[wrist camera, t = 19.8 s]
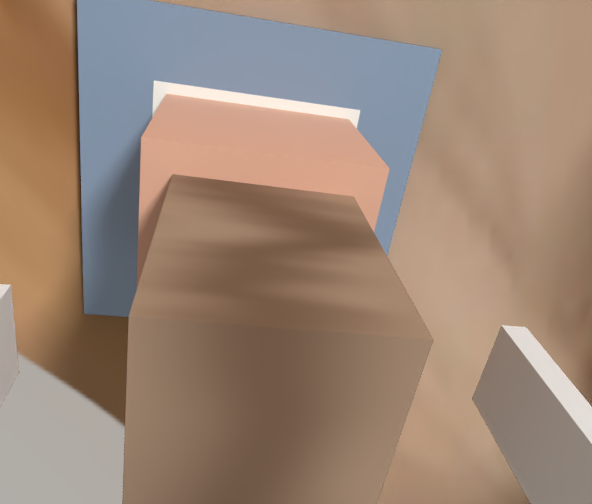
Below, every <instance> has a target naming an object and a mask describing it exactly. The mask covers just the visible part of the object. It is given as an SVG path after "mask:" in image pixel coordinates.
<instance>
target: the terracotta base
mask: <svg viewBox="0 0 592 504" xmlns="http://www.w3.org/2000/svg"><path fill="white" fill-rule="evenodd" d="M389 170H390V168H389V167H388V166H387V165H386V163H385V162H384V161H383V160H382V159H381V157H380V156H379V155H378V154H377V153H376V151H375V150H374V149H373V148H372V147H371V145H370V144H369V143H368V142H367V140H366V139H365V138H364V137H363V136H362V134H361V133H360V132H359V131H358V130H357V128H356V127H355V126H354V125H353V124H352V122H351V121H350V120H349V119H345V118H338V117H331V116H323V115H316V114H309V113H302V112H295V111H288V110H281V109H273V108H266V107H259V106H252V105H245V104H238V103H231V102H223V101H216V100H209V99H202V98H195V97H188V96H181V95H173V94H166V95H165V97H164V99H163V101H162V102H161V104H160V106H159V107H158V109H157V111H156V113H155V114H154V116H153V118H152V119H151V121H150V123H149V125H148V126H147V128H146V130H145V132H144V133H143V135H142V137H141V159H140V193H139V227H138V260H137V287H138V284H139V281H140V278H141V275H142V271H143V268H144V265H145V262H146V258H147V255H148V252H149V249H150V245H151V242H152V239H153V236H154V233H155V229H156V226H157V223H158V220H159V216H160V213H161V210H162V207H163V203H164V200H165V197H166V194H167V191H168V187H169V184H170V181H171V178H172V174H176V175H184V176H192V177H200V178H208V179H216V180H224V181H233V182H241V183H249V184H257V185H265V186H273V187H281V188H289V189H297V190H306V191H314V192H322V193H330V194H338V195H346V196H354V198H355V200H356V201H357V203H358V205H359V207H360V208H361V210H362V212H363V214H364V216H365V217H366V219H367V221H368V223H369V225H370V226H371V228H372V230H373V232H374V230H375V226H376V222H377V218H378V214H379V210H380V206H381V202H382V198H383V194H384V190H385V186H386V182H387V178H388V174H389Z"/></svg>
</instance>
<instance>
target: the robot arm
mask: <svg viewBox="0 0 592 504" xmlns="http://www.w3.org/2000/svg"><path fill="white" fill-rule="evenodd" d="M18 374H19V367H18V356H17V345H16V334H15V324H14V313H13V302H12V292H11V285H4V284H0V406H1V404H2V402H3V401H4V399H5V397H6V395H7V393H8V392H9V390H10V388H11V386H12V384H13V382H14V381H15V379H16V377H17V376H18ZM472 400H473V401H474V403H475V405H476V407H477V408H478V410H479V412H480V414H481V416H482V417H483V419H484V421H485V423H486V425H487V426H488V428H489V430H490V432H491V434H492V435H493V437H494V439H495V441H496V443H497V444H498V446H499V448H500V450H501V452H502V453H503V455H504V457H505V459H506V461H507V462H508V464H509V466H510V468H511V470H512V471H513V473H514V475H515V477H516V479H517V480H518V482H519V484H520V486H521V487H522V489H523V491H524V493H525V495H526V496H527V498H528V500H529V502H530V504H592V406H591V405H590V404H589V403H588V402H587V400H586V399H585V398H584V397H583V396H582V394H581V393H580V392H579V391H578V390H577V388H576V387H575V386H574V385H573V383H572V382H571V381H570V380H569V379H568V377H567V376H566V375H565V374H564V373H563V371H562V370H561V369H560V368H559V367H558V365H557V364H556V363H555V362H554V360H553V359H552V358H551V357H550V356H549V354H548V353H547V352H546V351H545V350H544V348H543V347H542V346H541V345H540V344H539V342H538V341H537V340H536V339H535V337H534V336H533V335H532V334H531V333H530V331H529V330H528V329H527V328H526V327H516V326H503V325H502V326H501V328H500V331H499V333H498V336H497V338H496V341H495V343H494V346H493V348H492V351H491V353H490V356H489V358H488V360H487V363H486V365H485V368H484V370H483V373H482V375H481V378H480V380H479V383H478V385H477V388H476V390H475V393H474V395H473V398H472Z"/></svg>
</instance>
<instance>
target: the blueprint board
mask: <svg viewBox="0 0 592 504" xmlns="http://www.w3.org/2000/svg"><path fill="white" fill-rule="evenodd" d="M77 24H78V70H79V115H80V161H81V206H82V251H83V297H84V314H93V315H108V316H122V317H129V313H130V310H131V307H132V304H133V300H134V297H135V294H136V291H137V260H138V227H139V193H140V159H141V137H142V135H143V133H144V132H145V130H146V128H147V126H148V125H149V123H150V121H151V119H152V118H153V116H154V114H155V113H156V111H157V109H158V107H159V106H160V104H161V102H162V101H163V99H164V97H165V95H166V94H173V95H181V96H188V97H195V98H202V99H209V100H216V101H223V102H231V103H238V104H245V105H252V106H259V107H266V108H273V109H281V110H288V111H295V112H302V113H309V114H316V115H323V116H331V117H338V118H345V119H349V120H350V121H351V122H352V124H353V125H354V126H355V127H356V128H357V130H358V131H359V132H360V133H361V134H362V136H363V137H364V138H365V139H366V140H367V142H368V143H369V144H370V145H371V147H372V148H373V149H374V150H375V151H376V153H377V154H378V155H379V156H380V157H381V159H382V160H383V161H384V162H385V163H386V165H387V166H388V167H389V168H390V170H389V174H388V178H387V182H386V186H385V190H384V194H383V198H382V202H381V206H380V210H379V214H378V218H377V222H376V226H375V230H374V234H375V235H376V237H377V239H378V241H379V243H380V244H381V246H382V248H383V250H384V252H385V253H386V255H388V251H389V247H390V244H391V240H392V236H393V232H394V228H395V225H396V221H397V217H398V213H399V210H400V206H401V202H402V198H403V195H404V191H405V187H406V183H407V180H408V176H409V172H410V168H411V165H412V161H413V157H414V153H415V150H416V146H417V142H418V138H419V135H420V131H421V127H422V123H423V120H424V116H425V112H426V108H427V105H428V101H429V97H430V93H431V90H432V86H433V82H434V78H435V75H436V71H437V67H438V63H439V60H440V56H441V52H442V50H440V49H437V48H431V47H425V46H419V45H414V44H408V43H402V42H396V41H390V40H384V39H378V38H372V37H366V36H360V35H354V34H348V33H342V32H336V31H330V30H325V29H319V28H313V27H307V26H301V25H295V24H289V23H283V22H277V21H271V20H265V19H259V18H253V17H247V16H241V15H236V14H230V13H224V12H218V11H212V10H206V9H200V8H194V7H188V6H182V5H176V4H170V3H164V2H158V1H152V0H77Z"/></svg>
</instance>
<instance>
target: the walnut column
mask: <svg viewBox="0 0 592 504" xmlns="http://www.w3.org/2000/svg"><path fill="white" fill-rule="evenodd" d="M432 343H433V338H432V336H431V334H430V332H429V331H428V329H427V327H426V325H425V323H424V322H423V320H422V318H421V316H420V314H419V313H418V311H417V309H416V307H415V305H414V304H413V302H412V300H411V298H410V296H409V295H408V293H407V291H406V289H405V287H404V286H403V284H402V282H401V280H400V278H399V277H398V275H397V273H396V271H395V270H394V268H393V266H392V264H391V262H390V261H389V259H388V257H387V255H386V253H385V252H384V250H383V248H382V246H381V244H380V243H379V241H378V239H377V237H376V235H375V234H374V232H373V230H372V228H371V226H370V225H369V223H368V221H367V219H366V217H365V216H364V214H363V212H362V210H361V208H360V207H359V205H358V203H357V201H356V200H355V198H354V196H346V195H338V194H330V193H322V192H314V191H306V190H297V189H289V188H281V187H273V186H265V185H257V184H249V183H241V182H233V181H224V180H216V179H208V178H200V177H192V176H184V175H176V174H172V178H171V181H170V184H169V187H168V191H167V194H166V197H165V200H164V203H163V207H162V210H161V213H160V216H159V220H158V223H157V226H156V229H155V233H154V236H153V239H152V242H151V245H150V249H149V252H148V255H147V258H146V262H145V265H144V268H143V271H142V275H141V278H140V281H139V284H138V287H137V291H136V294H135V297H134V300H133V304H132V307H131V310H130V313H129V321H128V351H127V382H126V412H125V444H124V473H123V474H124V475H123V504H377V501H378V498H379V496H380V493H381V490H382V487H383V484H384V481H385V478H386V475H387V472H388V470H389V467H390V464H391V461H392V458H393V455H394V452H395V449H396V446H397V444H398V441H399V438H400V435H401V432H402V429H403V426H404V423H405V421H406V418H407V415H408V412H409V409H410V406H411V403H412V400H413V397H414V395H415V392H416V389H417V386H418V383H419V380H420V377H421V374H422V371H423V369H424V366H425V363H426V360H427V357H428V354H429V351H430V348H431V345H432Z"/></svg>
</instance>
